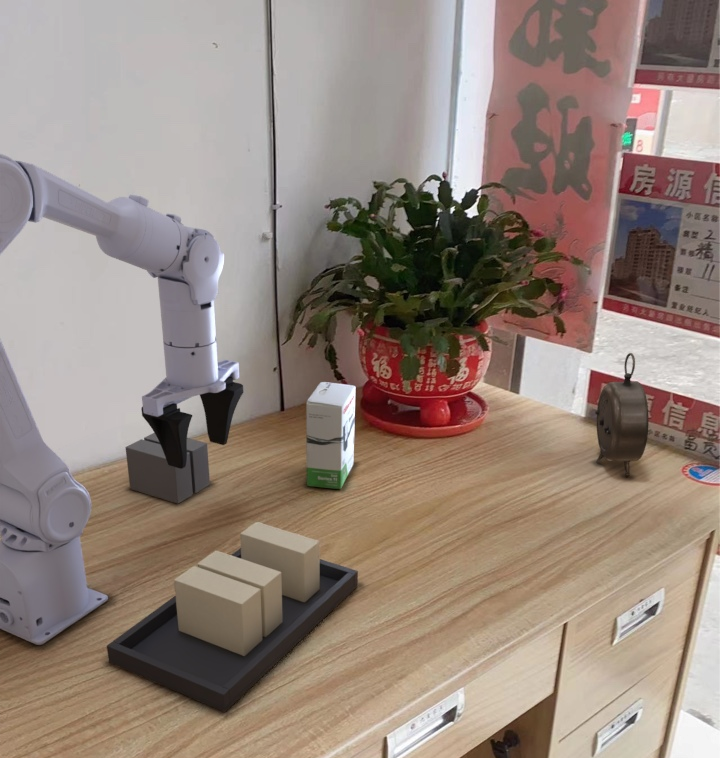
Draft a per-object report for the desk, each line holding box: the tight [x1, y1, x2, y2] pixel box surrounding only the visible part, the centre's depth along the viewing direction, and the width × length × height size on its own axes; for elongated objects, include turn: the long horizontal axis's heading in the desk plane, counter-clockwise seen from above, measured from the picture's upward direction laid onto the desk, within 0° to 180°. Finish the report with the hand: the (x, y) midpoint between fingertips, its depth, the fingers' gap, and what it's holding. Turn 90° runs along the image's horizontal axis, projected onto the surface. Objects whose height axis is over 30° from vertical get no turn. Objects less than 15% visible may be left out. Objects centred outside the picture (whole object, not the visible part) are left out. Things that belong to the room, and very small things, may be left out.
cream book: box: [239, 521, 321, 602], centre depth 93 cm, size 3×8×6 cm, turn 61°
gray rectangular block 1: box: [125, 438, 194, 505], centre depth 113 cm, size 3×8×6 cm, turn 61°
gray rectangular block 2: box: [143, 432, 211, 494], centre depth 116 cm, size 3×8×6 cm, turn 61°
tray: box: [106, 547, 359, 713], centre depth 89 cm, size 24×14×2 cm, turn 151°
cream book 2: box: [197, 550, 283, 637], centre depth 88 cm, size 3×8×6 cm, turn 60°
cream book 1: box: [173, 565, 262, 656], centre depth 85 cm, size 3×8×6 cm, turn 61°
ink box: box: [305, 381, 356, 490], centre depth 117 cm, size 9×5×12 cm, turn 168°
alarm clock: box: [594, 352, 649, 478], centre depth 121 cm, size 11×5×16 cm, turn 179°
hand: (198, 453), depth 102 cm, fingers open, 7 cm apart
